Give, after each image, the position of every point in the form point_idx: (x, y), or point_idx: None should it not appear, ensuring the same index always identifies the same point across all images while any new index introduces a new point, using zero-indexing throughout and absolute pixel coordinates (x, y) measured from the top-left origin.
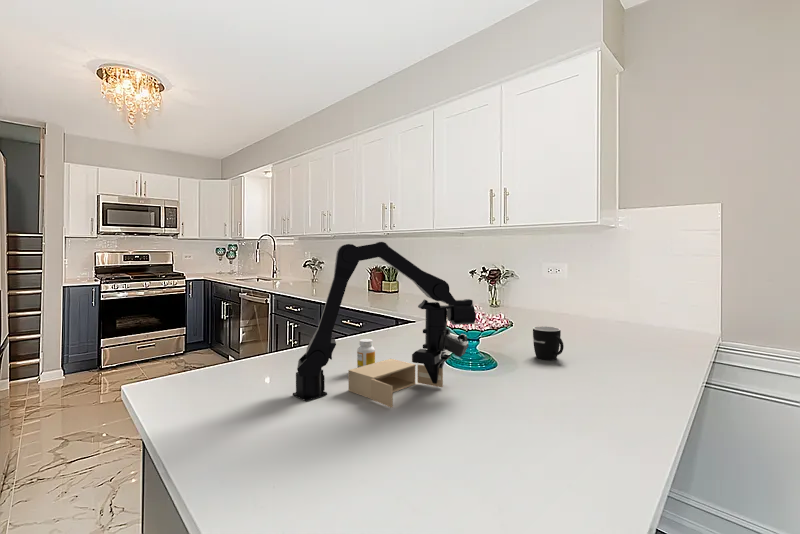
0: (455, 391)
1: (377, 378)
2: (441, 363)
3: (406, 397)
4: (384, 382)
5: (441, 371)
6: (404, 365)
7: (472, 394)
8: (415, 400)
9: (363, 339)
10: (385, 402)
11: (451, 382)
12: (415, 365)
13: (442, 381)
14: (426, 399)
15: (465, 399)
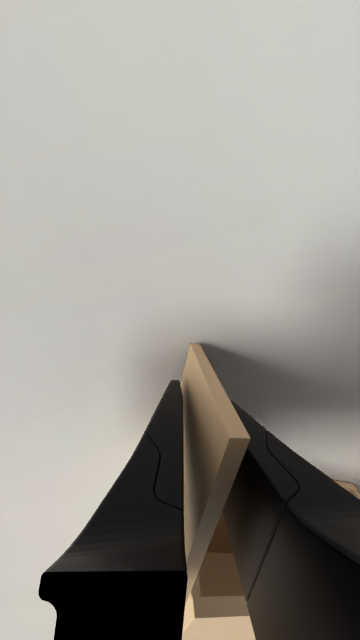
0: (213, 264)
1: (205, 563)
2: (183, 530)
3: (326, 421)
4: (217, 530)
5: (235, 416)
6: (238, 636)
7: (237, 142)
8: (352, 386)
9: None
10: None
11: (66, 326)
12: (193, 605)
13: (200, 358)
14: (340, 356)
15: (326, 176)
